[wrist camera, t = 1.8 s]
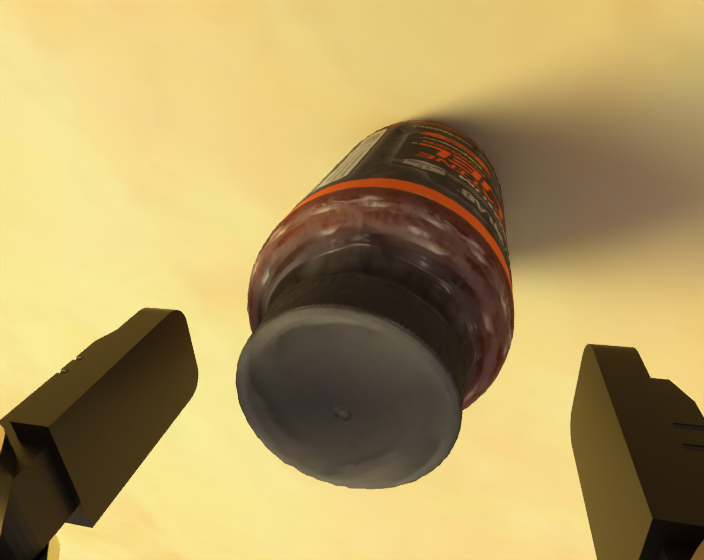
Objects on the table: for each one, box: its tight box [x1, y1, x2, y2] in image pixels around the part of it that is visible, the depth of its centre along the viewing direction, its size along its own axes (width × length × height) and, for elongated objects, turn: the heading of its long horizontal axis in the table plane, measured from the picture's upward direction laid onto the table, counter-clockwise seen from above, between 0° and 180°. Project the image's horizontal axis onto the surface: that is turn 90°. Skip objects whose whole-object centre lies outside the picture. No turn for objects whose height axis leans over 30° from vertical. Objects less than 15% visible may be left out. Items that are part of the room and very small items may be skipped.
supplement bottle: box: [236, 121, 514, 489], centre depth 13 cm, size 6×6×11 cm
